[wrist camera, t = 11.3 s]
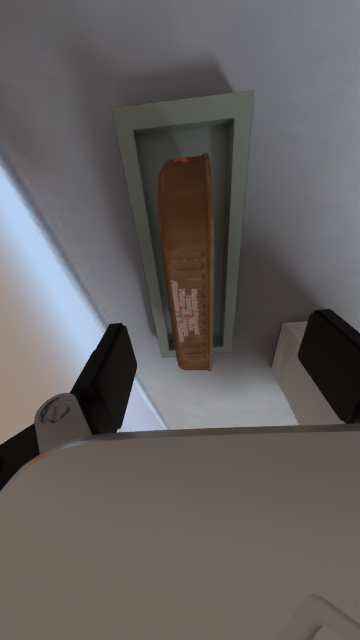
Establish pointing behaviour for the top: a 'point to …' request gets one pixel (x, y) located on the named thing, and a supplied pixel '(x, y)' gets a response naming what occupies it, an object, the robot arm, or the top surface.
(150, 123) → the tray
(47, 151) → the top surface
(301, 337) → the skincare box
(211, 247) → the tin
